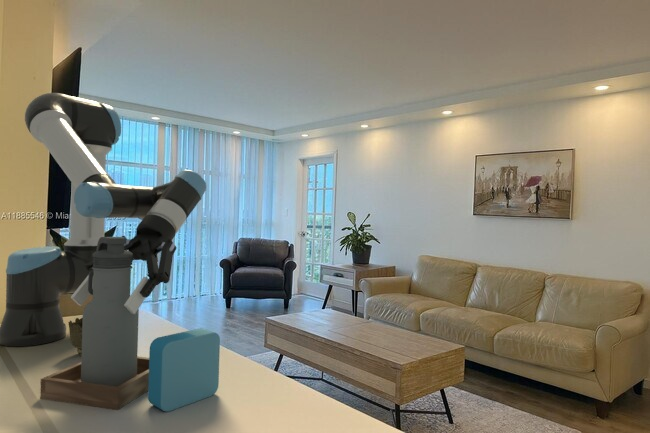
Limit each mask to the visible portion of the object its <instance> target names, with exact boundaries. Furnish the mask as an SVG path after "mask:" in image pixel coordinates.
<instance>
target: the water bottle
mask: <svg viewBox="0 0 650 433" xmlns="http://www.w3.org/2000/svg"><path fill="white" fill-rule="evenodd" d="M125 237H126V236H125ZM125 237H122V236H104V237H101V238H100V239H99V241H98V244H97V249H96V252H95V253H93V257H94V258H93V259H94V260H93V261H94V262H93V263H94V264H93V266H94V267H92V269H93V270H92V271H91V272H90V273H89V277H88V291H89V293H90V294H91V295H90V296H92V300H91V301H89V302H88V303H87V304H86V305H85V306H84V307H83V311H82V317H83V321H82V355H81V358H80V359H81V361H80V362H81V382H86V383H93V384H100V385H107V386H115V387H117V386H119V385H121V384H123V383H125V382H126V381H128V380H130V379H132V378H134V377H136V376H137V356H138V350H139V349H138V348H139V346H138V344H139V312H140V311H139V310H140V308H139V309H138V310H137V312H136V313H135V314H132V313H131V312H130V311H129V310H128V309H127V308H126V307H125V306H124V304H125V303H126V301H127V300H128V299H129V297H130V296H131V278H132V277H131V276H132V269H133V263H134V262H133V261H134V260H133V259H132V258H133V257H132V256H133V253H131V252H130V251H129V250H124V244H126V238H127V237H126V238H125ZM132 260H133V261H132ZM93 275H94V276H93ZM92 278H93V289H92Z"/></svg>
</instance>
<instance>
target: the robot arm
mask: <svg viewBox="0 0 650 433" xmlns="http://www.w3.org/2000/svg"><path fill="white" fill-rule="evenodd" d="M24 122H25V126H26V128H27V131H28V132H29V133H30V135H31V136H32V137H33V138H34V139H35V140H36V141H38V142H40V143H41V144H43V145H44V146H45V148H46V149H47V150H48V152H49V153H50V154H51V156H52V157H53V159H54V161H55V162H56V163H57V164H58V165H59V167H60V168H61V170H62V171H63V172H64V174H65V175H66V177H67V178H68V180H69V181H70V182H71V183H70V184H71V185H70V187H71V188H70V189H71V190H70V192H71V194H70V195H71V196H70V233H69V234H70V235H69V236H70V237H69V239H68V240H67V241H65V242H64V244H63V250H62V248H60V247H59V246H56V245H55V246H53V245H52V246H51V245H50V246H49V245H48V246H38V247H30V248H25V249H20V250H17V251H14V252H12V253H11V254H9V256H8V258H7V265H6V269H5V273H6V280H5V282H6V283H5V284H6V285H5V288H6V290H5V291H6V292H5V297H6V298H5V313H4V315H3V317H2V320H1V322H0V323H1V324H0V346H5V347H29V346H38V345H42V344H48V343H53V342H56V341H58V340H61V339H64V338H65V337H67V336H66V335H67V325H66V323H64V318H63V317H64V316H63V314H62V311H61V306H60V296H61V295H67V294H72V295H71V296H70V299H71V300H72V301H73V302H74V303H75V304H77V305H78V306H79V307H82V306H83V305H84V304H85V302H86V301H87V300H88V298H89V297H90V296H92V295H91V294H90V293H89V291H88V277H89V273H90V272H91V271H92V270H93V269H92V267H94V266H93V264H94V263H93V262H94V261H93V260H94V259H93V258H94V257H93V253H95V252H96V249H97V244H98V241H99V239H100V238H101V237H105V227H106V226H105V224H106V222H105V219H110V218H112V219H114V218H115V219H116V218H117V219H119V218H120V219H121V218H122V219H124V218H125V219H127V218H128V219H139V220H141V221H140V222H139V224H138V225H137V226H136V232H135V235H134V237H132V238H131V239H130V238H129V239H128V238H127V237H126V235H121V237H125V238H126V244H124V250H127V251H130V252H131V253H133V256H132V257H133V258H132V259H133V260H132V261H144V262H146V268H147V273H146V276H143V277H142V278H141V280H140V281H139V282H138V284H137V285H136V287H135V289H134V290H133V291H132V292H131V293H130V297H129V299H128V300H127V301H126V303H125V304H124V306H125V307H126V308H127V309H128V310H129V311H130V312H131V313H132V314H135V313H136V312H137V310H138V309H139V310H140V307H141V306H142V304H143V303H144V301H145V300H146V298H148V297H149V296H150V295H151V294H152V292H153V291H154V289H155V288H156V286H158V285H159V284H161V283H163V284H167V283H169V282H170V280H171V278H170V277H171V272H172V266H173V258H174V254H175V252H176V250H177V246H176V244H175V243H174V241H173V240H174V238H175V237H176V234H177V233H178V232H179V231H180V229H181V227H183V225H184V224H185V222H186V221H187V219H188V217H189V216H190V215H191V213H192V212H193V210H194V209H195V208H196V206H197V205H198V203H199V202H200V201H201V200H202V198H203V196H204V194H205V192H206V190H207V183H206V181H205V179H204V178H203V177H202V176H201V174H199V173H198V172H196V171H194V170H190V169H183V170H181V171H179V173H178V174H177V175H175V177H174V178H173V180H171V181H169V182H166V183H163V184H160V185H156V186H144V185H143V186H140V185H139V186H138V185H131V184H130V185H129V184H118V183H116V182H115V180H114V179H113V178H112V176H110V174H109V173H108V171H107V170H106V169H107V167H106V166H107V165H106V164H107V159H106V158H107V155H108V154H109V153H110V152H111V151H113V150H112V149H113V148H112V147H113V146H114V145H115V144H117V143H118V142H119V140H120V137H121V134H122V122H121V119H120V115H119V114H118V112H117V111H116V109H115V108H113V106H111V105H109V104H105V103H102V102H100V101H97V100H95V101H94V100H90V99H86V98H83V97H78V96H77V97H76V96H74V95H73V96H71V95H68V94H66V93H65V94H64V93H59V92H49V93H44V94H41V95H39V96H37V97H35V98H34V99H32V100H31V102H30V103H29V104H28V105H27V107H26V109H25V112H24ZM159 253H160V257H159V258H160V259H159V258H158V254H159ZM158 263H159V265H158ZM93 276H94V275H93ZM92 289H93V278H92Z"/></svg>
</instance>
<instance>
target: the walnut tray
mask: <svg viewBox="0 0 650 433" xmlns="http://www.w3.org/2000/svg"><path fill="white" fill-rule="evenodd" d="M148 387H149V357H147V356H145V357H144V356H138V355H137V376H136V377H134V378H132V379H130V380H128V381H126V382H125V383H123V384H121V385H119V386H117V387H115V386H107V385H100V384H93V383H86V382H81V361H80V362H77V363H75V364H73V365H71V366H68V367H65V368H63V369H61V370H59V371H56V372H54V373H52V374H49V375H47V376H45V377H42V378H40V392H39V394H40V395H39V397H40V399H43V400H50V401H56V402H63V403H68V404H69V403H70V404H76V405H83V406H88V407H89V406H90V407H95V408H96V407H97V408H103V409H108V410H109V409H111V410H114V411H115V410H116V411H118V410H120V409H121V408H122V407H124V406H126V405H128V404H129V403H131V402H133V401H134V400H135V399H137V398H138V397H140V396H142V395H144V394H145V393H148Z"/></svg>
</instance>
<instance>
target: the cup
mask: <svg viewBox="0 0 650 433" xmlns="http://www.w3.org/2000/svg"><path fill="white" fill-rule="evenodd" d="M74 319H75V321H72V320H69V321H68V330H69V337H70V342H71V345H72V346H73V347H74V348H76V349H77V350H76V353H77V355H79V356H82V321H83V316H82V317H81V318H79V317H76V318H74Z"/></svg>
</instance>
